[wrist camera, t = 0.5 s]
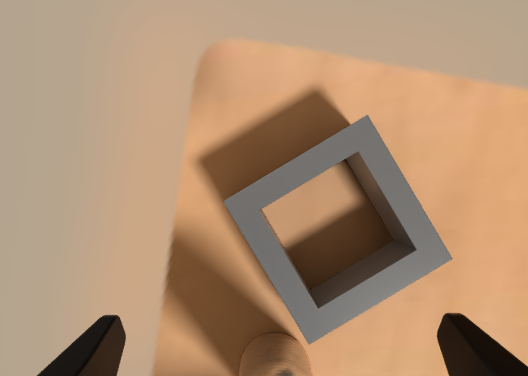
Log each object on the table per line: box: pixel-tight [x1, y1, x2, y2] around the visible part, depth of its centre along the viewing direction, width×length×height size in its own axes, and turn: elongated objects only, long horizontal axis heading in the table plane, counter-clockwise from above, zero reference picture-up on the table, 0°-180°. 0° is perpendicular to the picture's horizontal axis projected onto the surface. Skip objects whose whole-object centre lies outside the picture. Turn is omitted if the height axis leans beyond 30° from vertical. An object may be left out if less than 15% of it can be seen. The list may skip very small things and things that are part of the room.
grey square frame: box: [223, 115, 452, 344], centre depth 22 cm, size 10×10×4 cm
